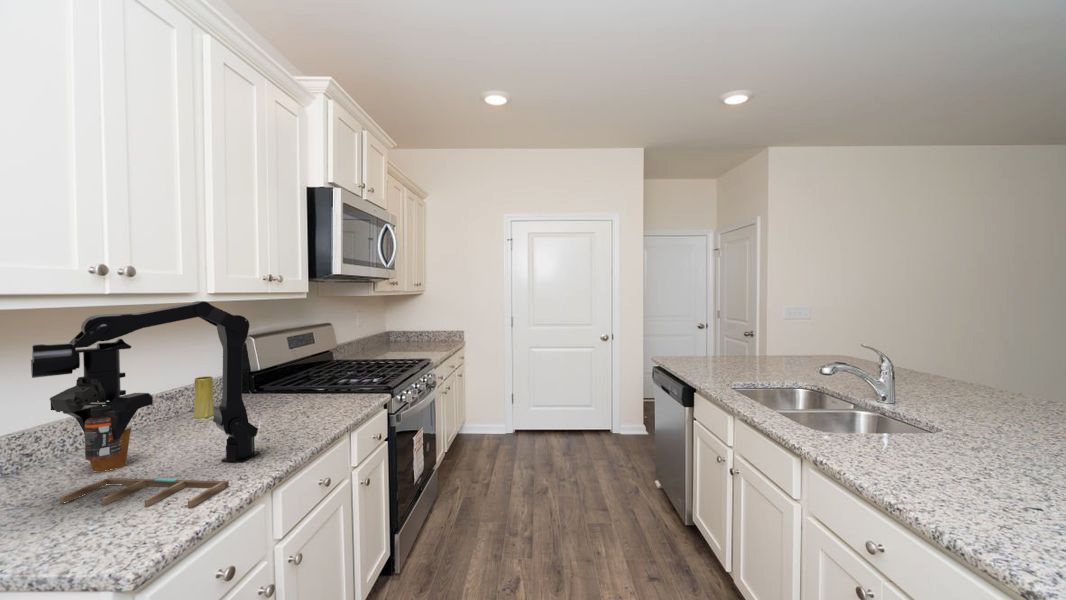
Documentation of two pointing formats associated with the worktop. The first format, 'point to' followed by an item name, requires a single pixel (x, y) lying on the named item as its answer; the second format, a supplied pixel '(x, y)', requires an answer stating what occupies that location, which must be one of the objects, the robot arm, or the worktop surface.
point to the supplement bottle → (100, 436)
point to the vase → (203, 397)
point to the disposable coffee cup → (117, 460)
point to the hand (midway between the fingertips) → (103, 439)
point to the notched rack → (141, 483)
